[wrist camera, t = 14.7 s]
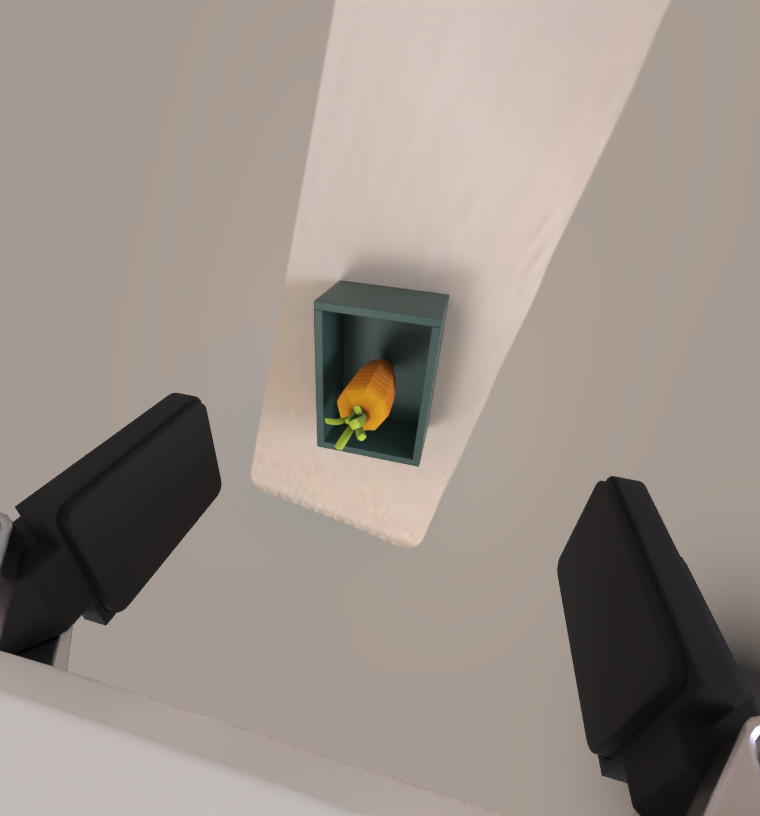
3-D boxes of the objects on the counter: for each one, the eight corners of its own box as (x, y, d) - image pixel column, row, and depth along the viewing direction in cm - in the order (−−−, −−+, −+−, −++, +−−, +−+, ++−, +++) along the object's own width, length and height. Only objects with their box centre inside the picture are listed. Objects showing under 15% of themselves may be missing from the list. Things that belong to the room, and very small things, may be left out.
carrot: (379, 387, 46) (340, 468, 34) (356, 352, 45) (306, 425, 32) (415, 370, 44) (387, 451, 32) (393, 333, 43) (354, 403, 30)
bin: (339, 280, 41) (313, 301, 35) (449, 294, 40) (442, 319, 33) (338, 411, 50) (317, 446, 44) (427, 427, 49) (418, 466, 42)
